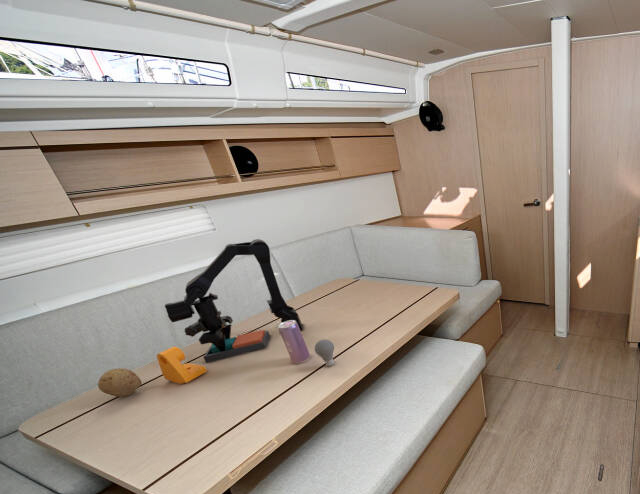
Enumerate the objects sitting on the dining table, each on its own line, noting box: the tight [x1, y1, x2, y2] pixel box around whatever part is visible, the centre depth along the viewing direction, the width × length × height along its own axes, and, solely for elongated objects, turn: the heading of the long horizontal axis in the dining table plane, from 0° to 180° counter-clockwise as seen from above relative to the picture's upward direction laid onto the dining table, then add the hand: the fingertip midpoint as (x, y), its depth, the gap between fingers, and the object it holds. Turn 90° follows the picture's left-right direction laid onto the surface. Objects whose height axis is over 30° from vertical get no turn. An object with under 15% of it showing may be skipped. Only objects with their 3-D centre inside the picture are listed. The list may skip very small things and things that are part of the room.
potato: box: [97, 367, 142, 398], centre depth 115 cm, size 9×9×10 cm
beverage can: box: [277, 320, 311, 364], centre depth 126 cm, size 6×6×15 cm
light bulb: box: [314, 339, 335, 367], centre depth 122 cm, size 6×6×10 cm
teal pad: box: [209, 336, 237, 354], centre depth 138 cm, size 7×6×4 cm
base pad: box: [232, 329, 266, 349], centre depth 141 cm, size 9×9×3 cm
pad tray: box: [203, 330, 271, 364], centre depth 140 cm, size 20×12×3 cm, turn 115°
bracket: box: [156, 346, 208, 385], centre depth 122 cm, size 11×7×12 cm, turn 73°
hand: (226, 348), depth 139 cm, fingers closed on teal pad, 6 cm apart
